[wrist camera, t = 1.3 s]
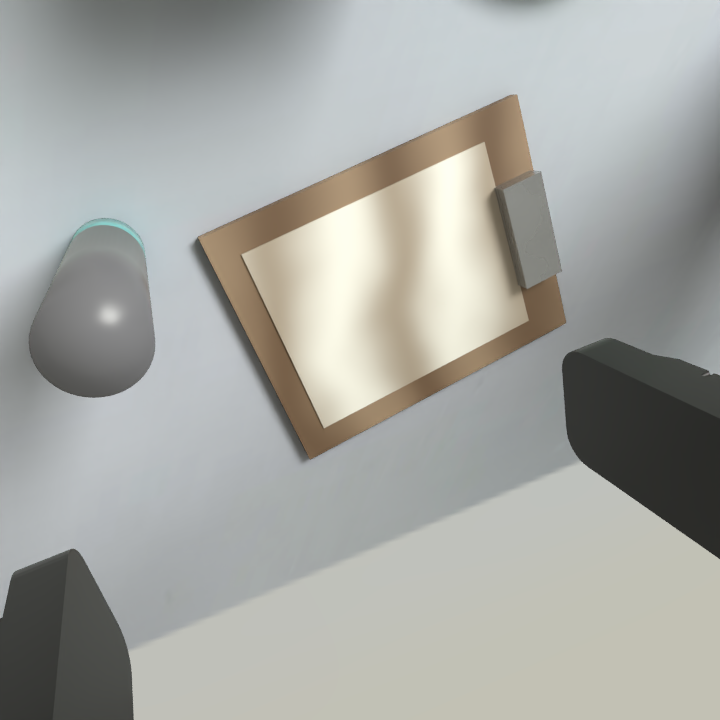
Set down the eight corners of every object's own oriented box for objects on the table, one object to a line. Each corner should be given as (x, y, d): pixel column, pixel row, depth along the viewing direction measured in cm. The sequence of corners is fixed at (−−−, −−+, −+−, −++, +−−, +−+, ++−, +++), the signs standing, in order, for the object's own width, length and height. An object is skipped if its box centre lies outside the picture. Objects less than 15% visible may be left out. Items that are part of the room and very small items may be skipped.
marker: (122, 206, 28) (118, 268, 16) (157, 269, 29) (175, 365, 18) (55, 236, 27) (2, 320, 16) (94, 298, 29) (71, 416, 17)
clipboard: (510, 94, 32) (528, 93, 31) (560, 320, 38) (576, 327, 37) (197, 236, 29) (200, 242, 28) (307, 454, 36) (314, 468, 34)
